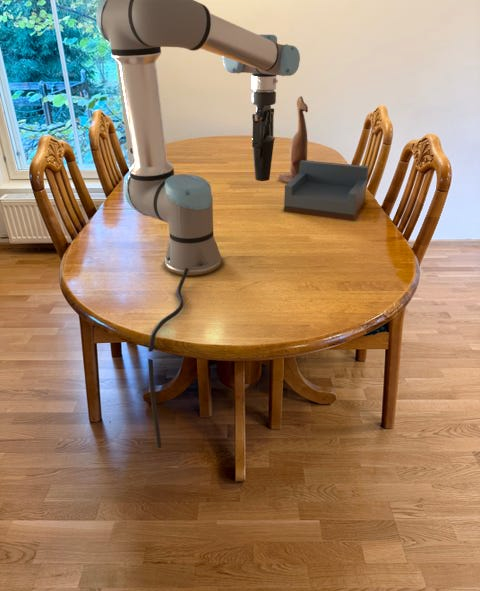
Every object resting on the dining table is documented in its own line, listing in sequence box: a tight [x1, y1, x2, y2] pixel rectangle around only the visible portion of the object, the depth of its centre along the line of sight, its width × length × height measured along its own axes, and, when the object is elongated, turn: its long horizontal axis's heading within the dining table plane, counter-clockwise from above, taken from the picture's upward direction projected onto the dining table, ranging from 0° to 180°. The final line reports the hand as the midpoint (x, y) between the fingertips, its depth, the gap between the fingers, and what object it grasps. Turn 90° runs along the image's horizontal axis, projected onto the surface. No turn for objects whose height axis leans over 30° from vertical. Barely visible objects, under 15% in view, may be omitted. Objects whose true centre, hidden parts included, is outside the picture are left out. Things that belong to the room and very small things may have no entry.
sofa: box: [283, 159, 370, 221], centre depth 168 cm, size 19×24×13 cm
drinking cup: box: [252, 130, 276, 182], centre depth 161 cm, size 8×8×20 cm
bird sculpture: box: [278, 95, 309, 184], centre depth 190 cm, size 11×12×32 cm
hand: (262, 164), depth 164 cm, fingers closed on drinking cup, 6 cm apart
